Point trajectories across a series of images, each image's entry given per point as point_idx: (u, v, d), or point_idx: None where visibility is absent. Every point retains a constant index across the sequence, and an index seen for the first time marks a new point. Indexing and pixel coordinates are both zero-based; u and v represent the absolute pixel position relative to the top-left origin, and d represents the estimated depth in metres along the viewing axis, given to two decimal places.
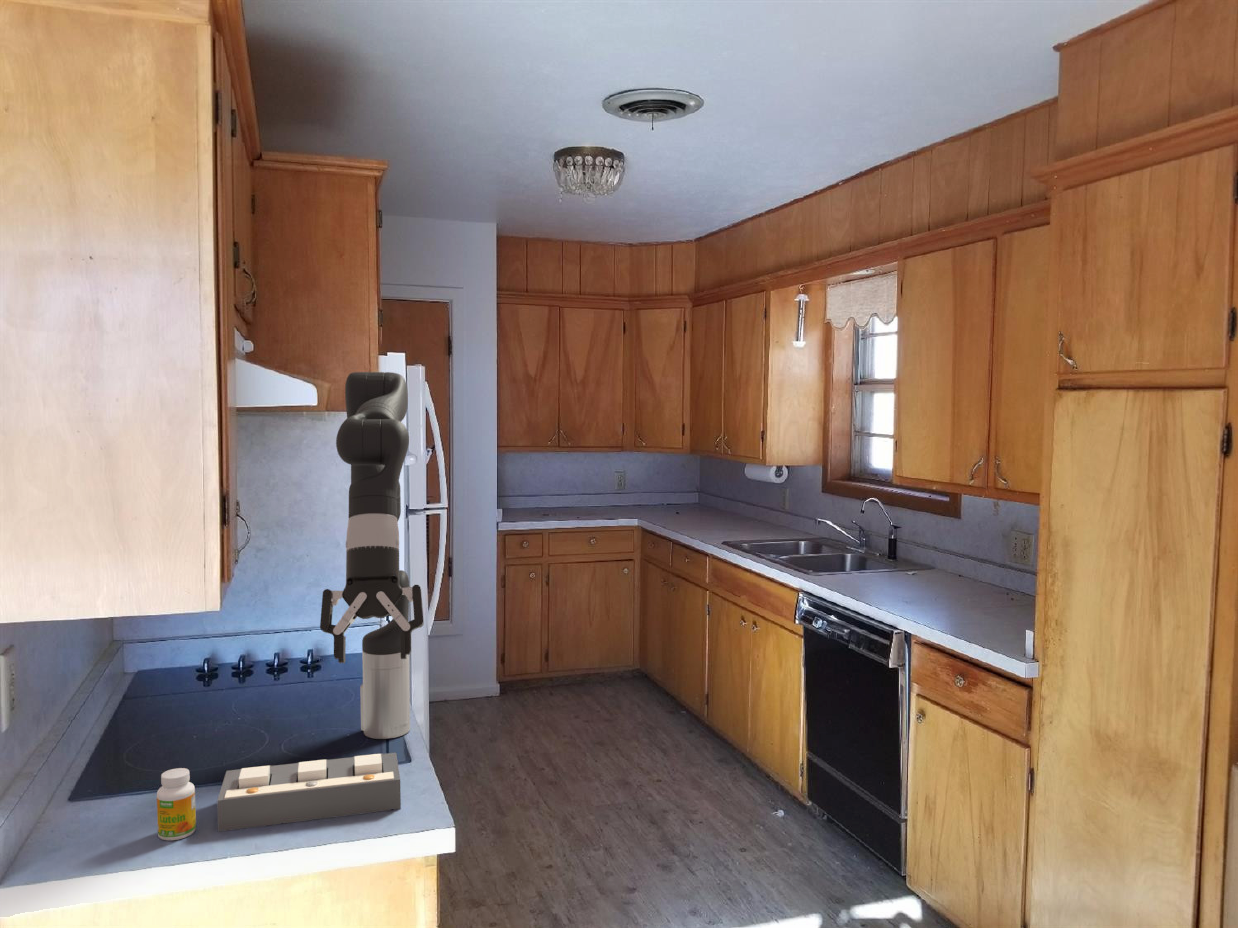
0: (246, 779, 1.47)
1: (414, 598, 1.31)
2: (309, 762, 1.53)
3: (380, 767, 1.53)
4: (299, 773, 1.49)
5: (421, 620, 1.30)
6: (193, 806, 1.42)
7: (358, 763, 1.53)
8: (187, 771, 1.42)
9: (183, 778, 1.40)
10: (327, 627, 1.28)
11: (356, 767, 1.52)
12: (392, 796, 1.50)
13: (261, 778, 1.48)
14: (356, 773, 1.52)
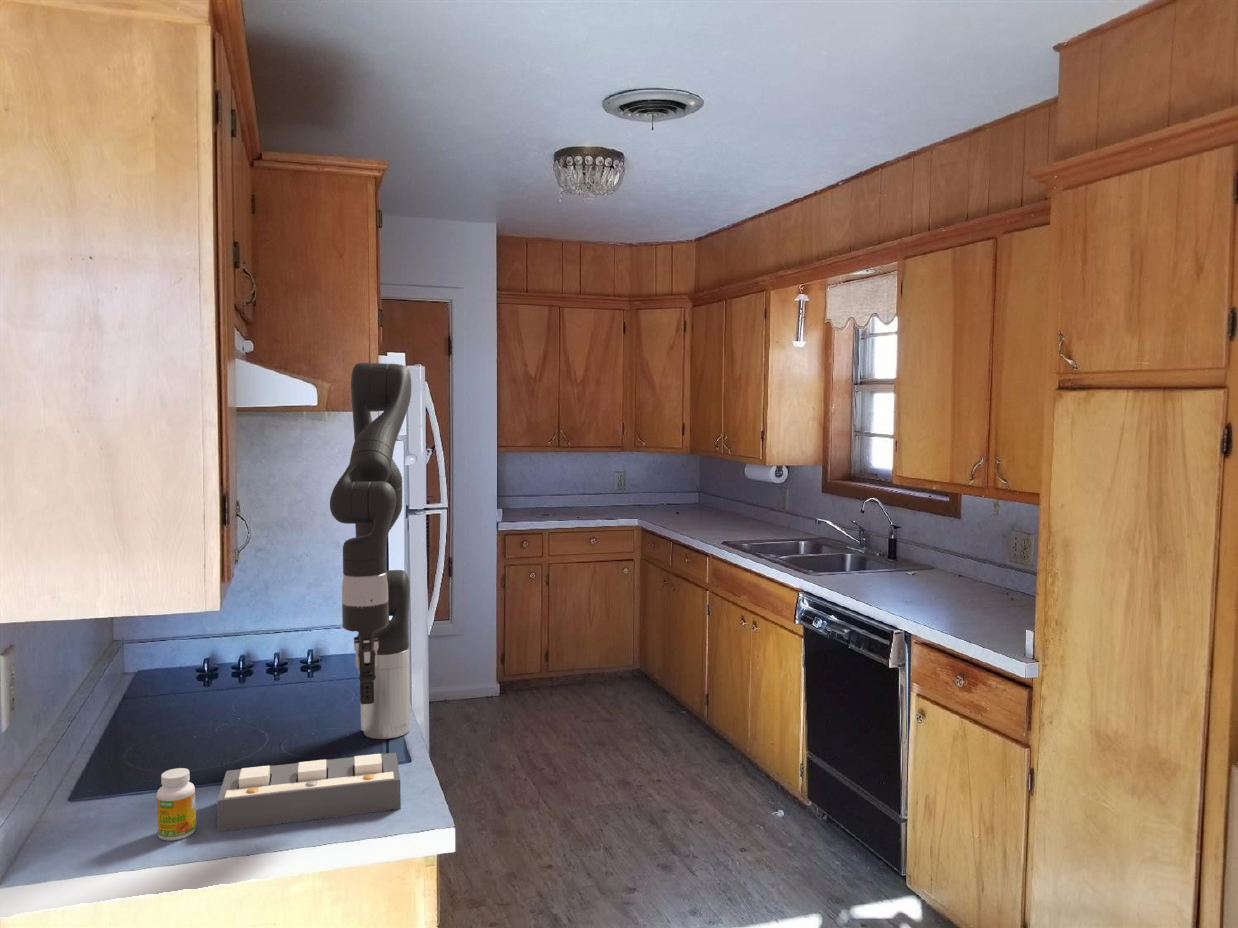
0: (246, 779, 1.47)
1: None
2: (309, 762, 1.53)
3: (380, 767, 1.53)
4: (299, 773, 1.49)
5: (359, 678, 1.49)
6: (193, 806, 1.42)
7: (358, 763, 1.53)
8: (187, 771, 1.42)
9: (183, 778, 1.40)
10: None
11: (356, 767, 1.52)
12: (392, 796, 1.50)
13: (261, 778, 1.48)
14: (356, 773, 1.52)
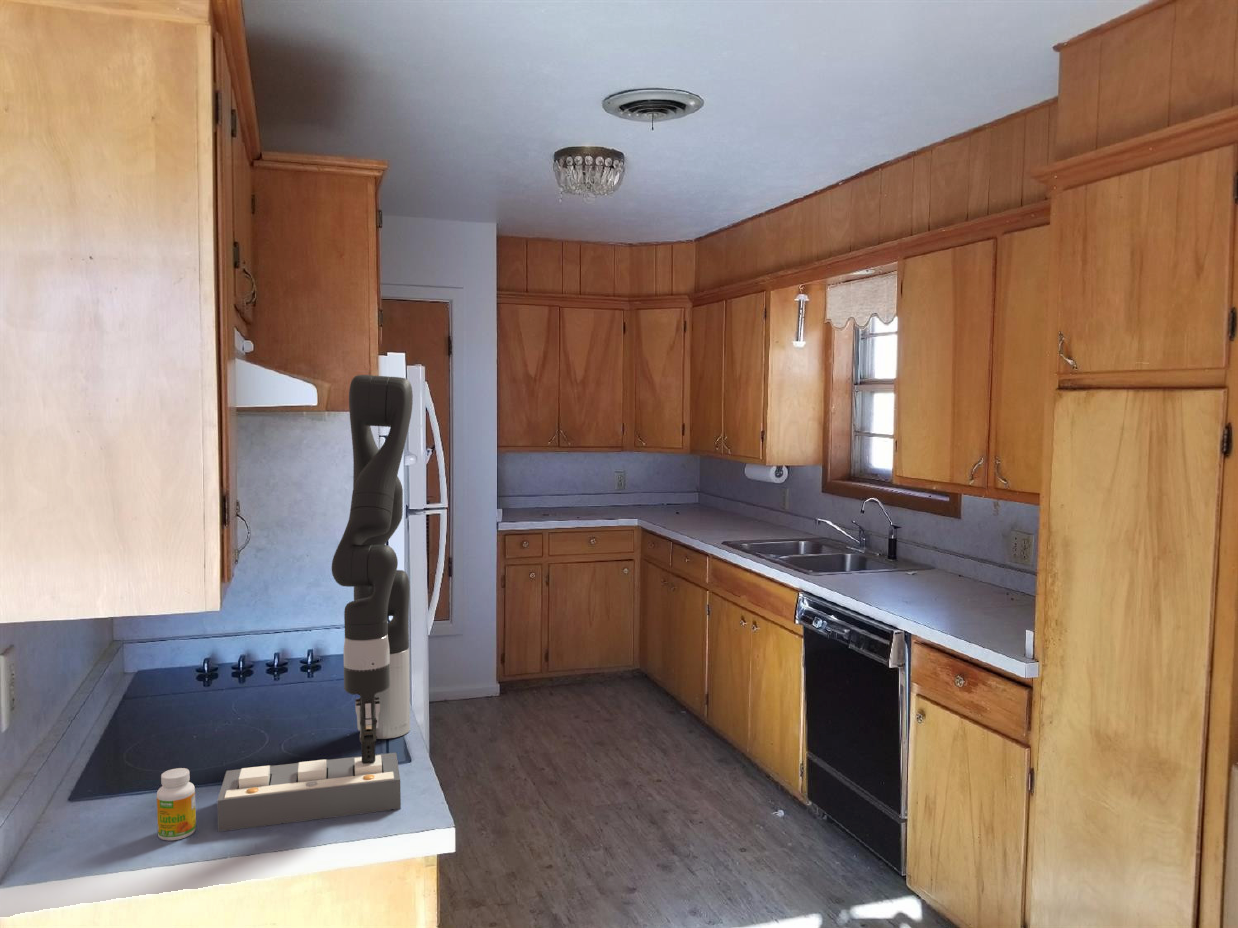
0: (246, 779, 1.47)
1: None
2: (309, 762, 1.53)
3: (380, 769, 1.53)
4: (299, 773, 1.49)
5: (361, 739, 1.51)
6: (193, 806, 1.42)
7: (358, 764, 1.53)
8: (187, 771, 1.42)
9: (183, 778, 1.40)
10: None
11: (356, 769, 1.52)
12: (392, 796, 1.50)
13: (261, 778, 1.48)
14: (356, 775, 1.52)
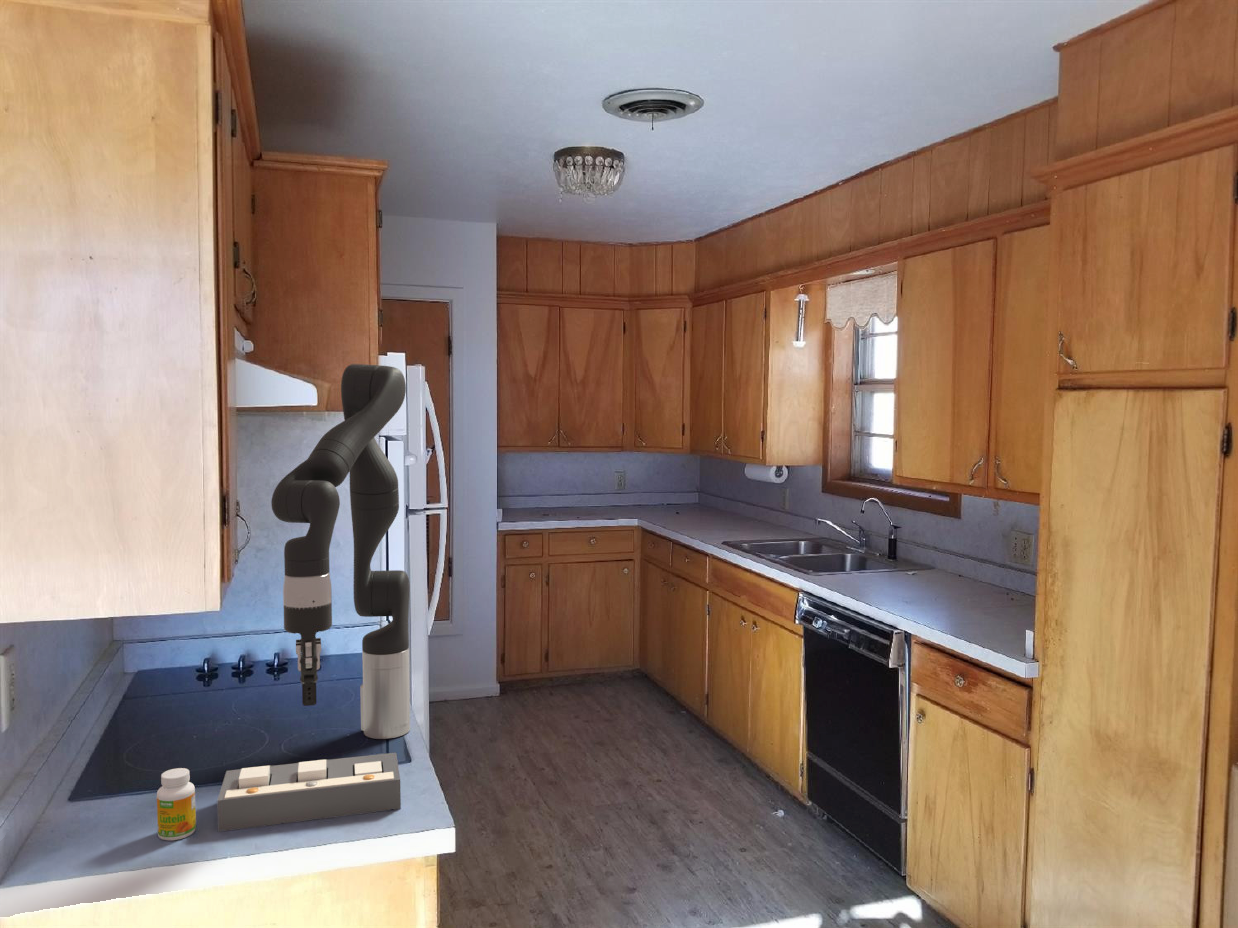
0: (246, 779, 1.47)
1: None
2: (309, 762, 1.53)
3: None
4: (299, 773, 1.49)
5: (301, 679, 1.47)
6: (193, 806, 1.42)
7: (358, 770, 1.53)
8: (187, 771, 1.42)
9: (183, 778, 1.40)
10: None
11: (356, 775, 1.52)
12: (392, 796, 1.50)
13: (261, 778, 1.48)
14: None
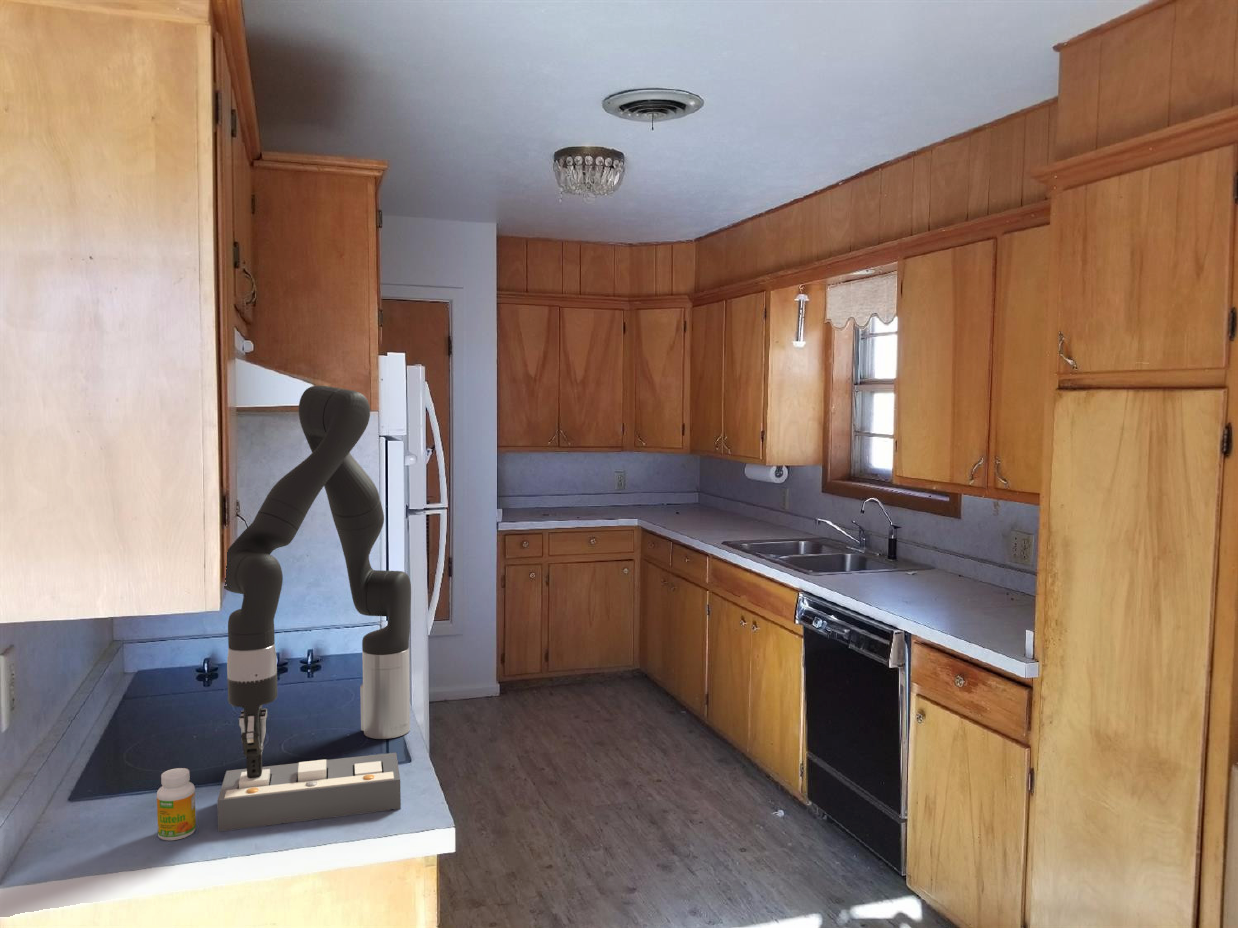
0: (247, 783, 1.47)
1: None
2: (309, 762, 1.53)
3: None
4: (299, 773, 1.49)
5: (244, 752, 1.46)
6: (193, 806, 1.42)
7: (358, 770, 1.53)
8: (187, 771, 1.42)
9: (183, 778, 1.40)
10: None
11: (356, 775, 1.52)
12: (392, 796, 1.50)
13: (261, 782, 1.48)
14: None
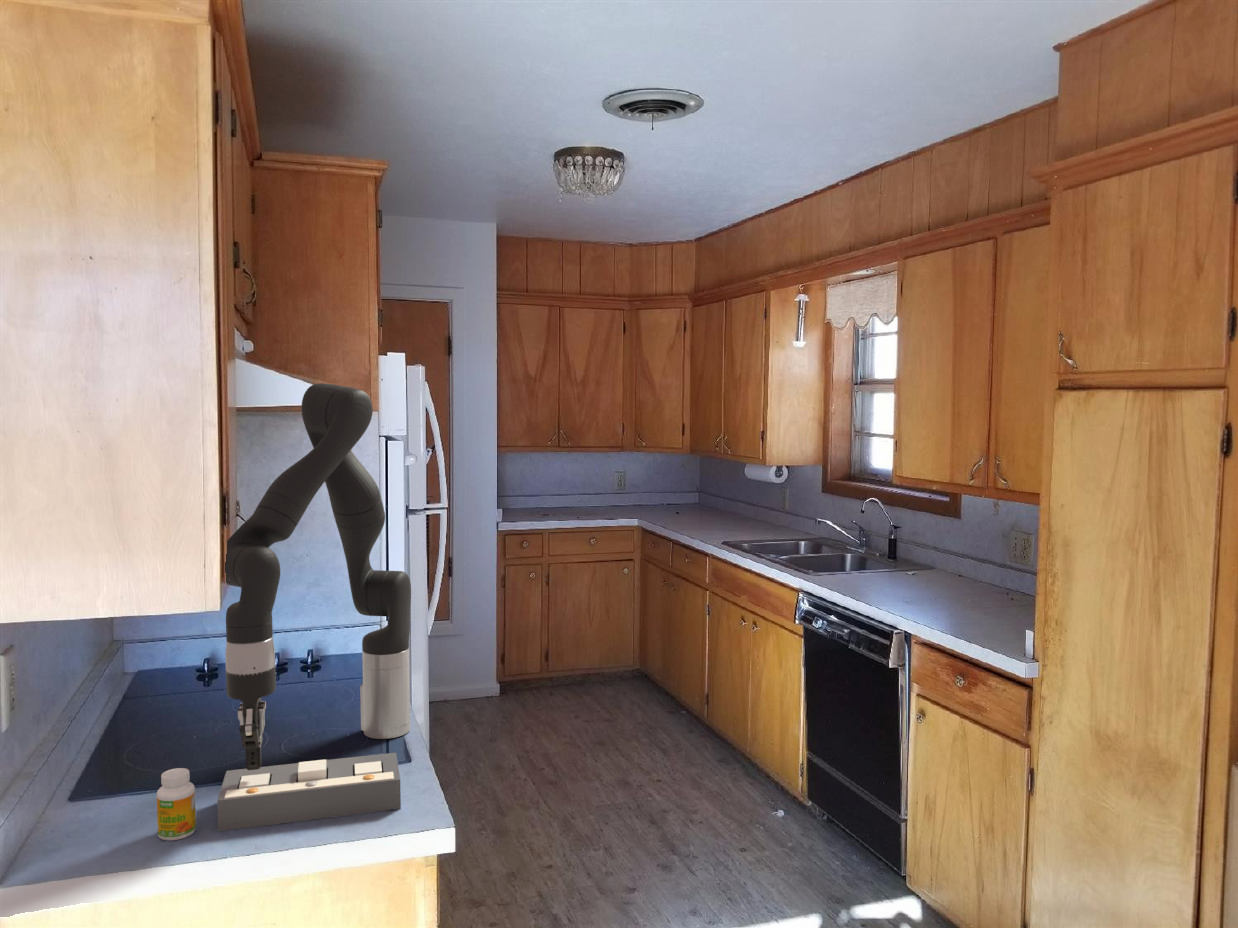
0: (247, 787, 1.47)
1: None
2: (309, 762, 1.53)
3: None
4: (299, 773, 1.49)
5: (243, 745, 1.46)
6: (193, 806, 1.42)
7: (358, 770, 1.53)
8: (187, 771, 1.42)
9: (183, 778, 1.40)
10: None
11: (356, 775, 1.52)
12: (392, 796, 1.50)
13: None
14: None
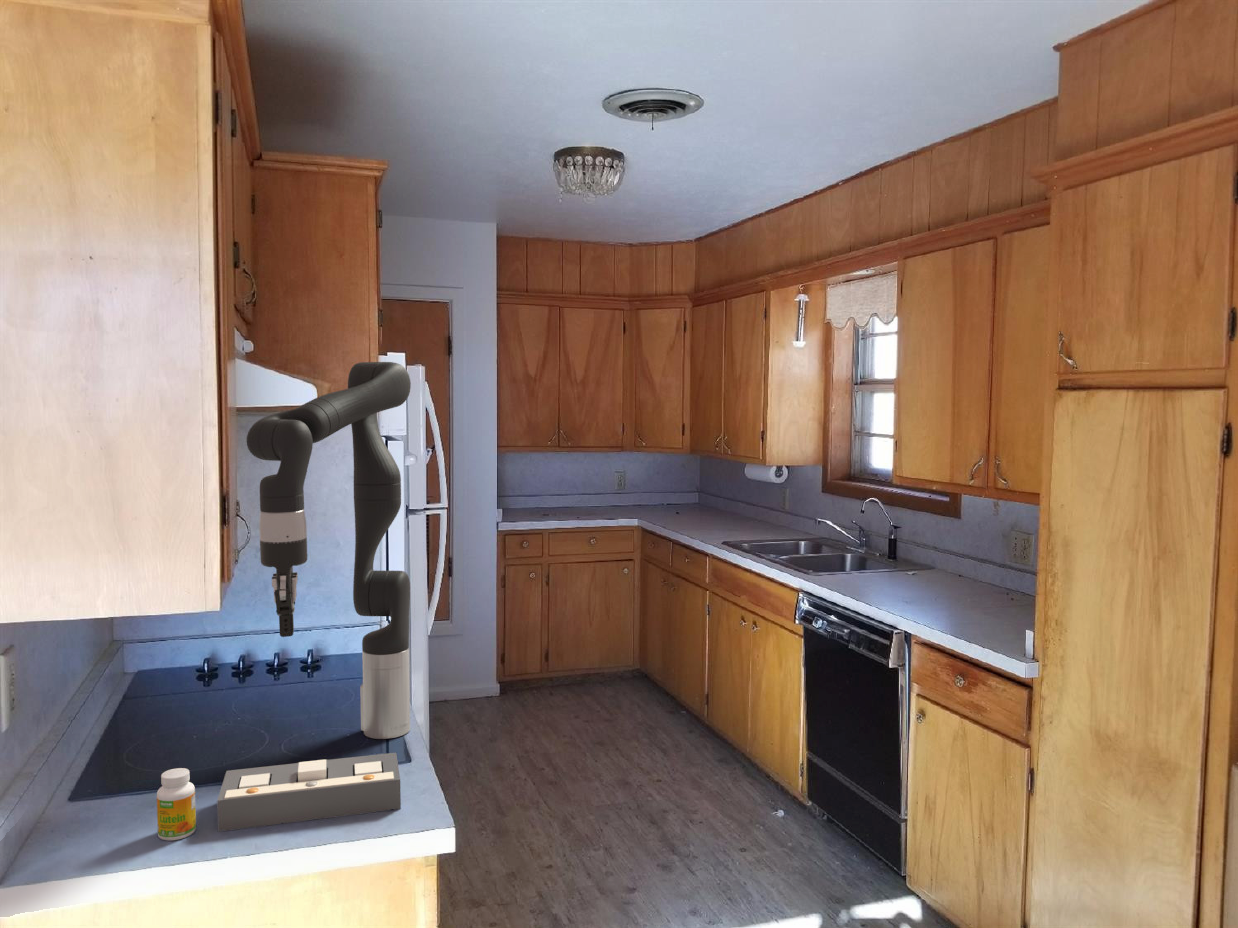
0: (247, 787, 1.47)
1: None
2: (309, 762, 1.53)
3: None
4: (299, 773, 1.49)
5: (277, 611, 1.52)
6: (193, 806, 1.42)
7: (358, 770, 1.53)
8: (187, 771, 1.42)
9: (183, 778, 1.40)
10: None
11: (356, 775, 1.52)
12: (392, 796, 1.50)
13: None
14: None
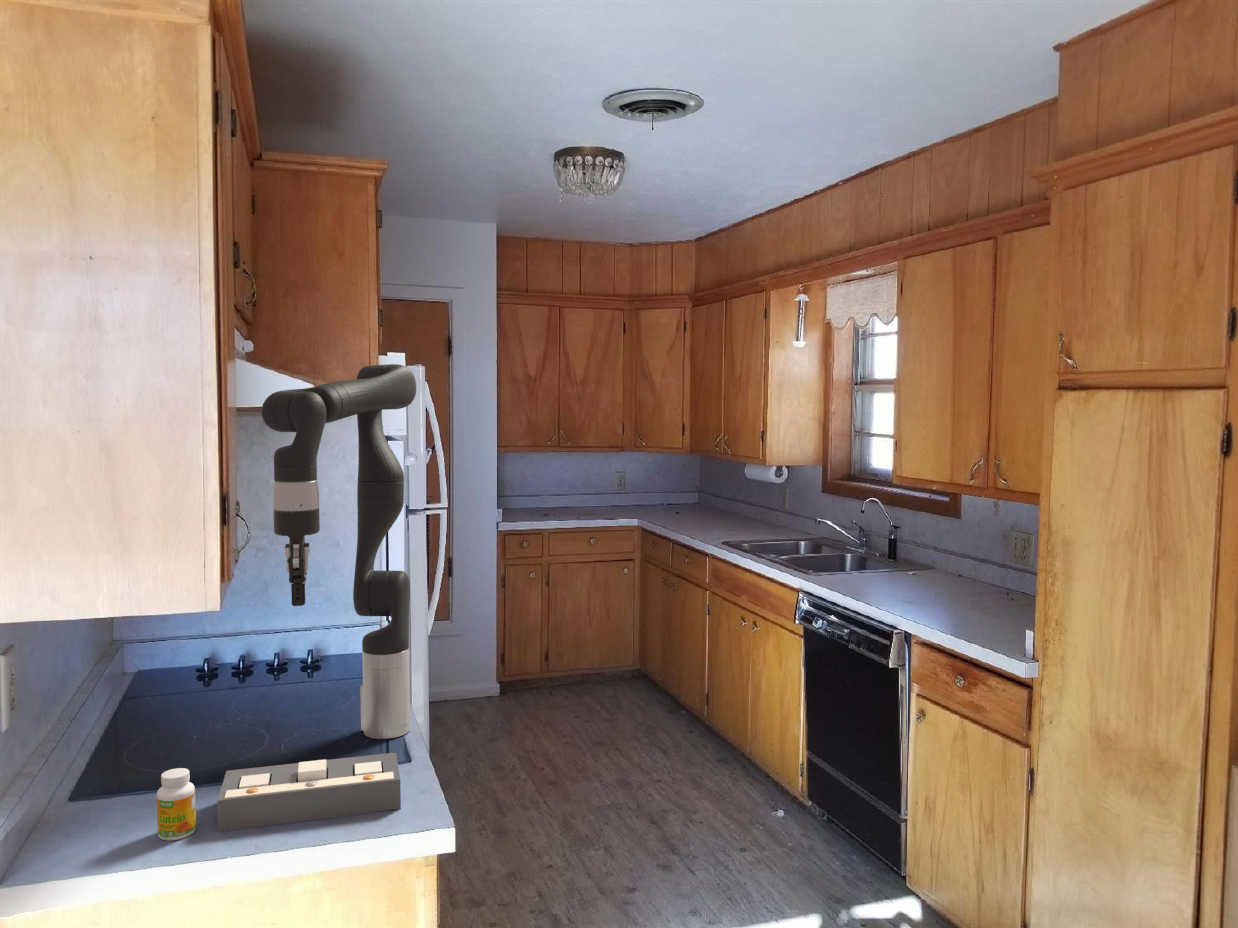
0: (247, 787, 1.47)
1: None
2: (309, 762, 1.53)
3: None
4: (299, 773, 1.49)
5: (289, 579, 1.55)
6: (193, 806, 1.42)
7: (358, 770, 1.53)
8: (187, 771, 1.42)
9: (183, 778, 1.40)
10: None
11: (356, 775, 1.52)
12: (392, 796, 1.50)
13: None
14: None
